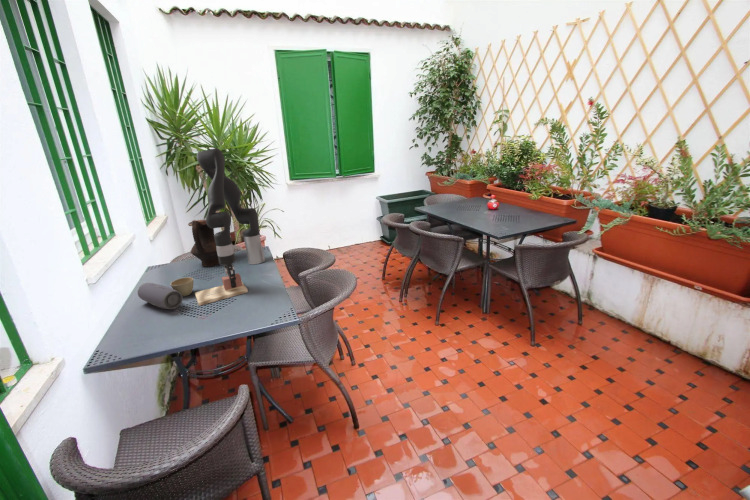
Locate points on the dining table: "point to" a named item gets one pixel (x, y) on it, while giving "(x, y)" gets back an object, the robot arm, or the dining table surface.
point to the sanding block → (228, 284)
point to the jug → (204, 243)
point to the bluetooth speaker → (160, 295)
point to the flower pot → (183, 285)
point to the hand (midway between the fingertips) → (233, 285)
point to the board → (218, 294)
